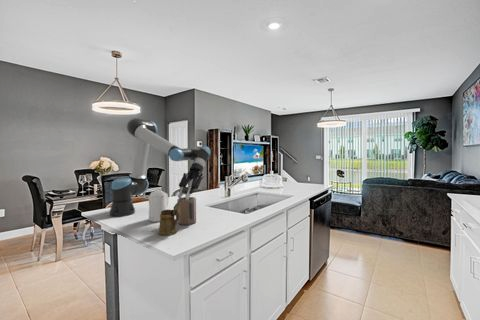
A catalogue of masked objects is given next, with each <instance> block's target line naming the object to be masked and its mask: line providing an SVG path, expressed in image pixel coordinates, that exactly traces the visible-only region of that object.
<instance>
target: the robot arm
mask: <svg viewBox="0 0 480 320" xmlns="http://www.w3.org/2000/svg"><path fill="white" fill-rule="evenodd" d="M126 130H127V132H128V133H129V135H130V136H132V137H134V139H136V146H135V150H134V151H135V152H134V159H133V163H132V172H131V173H130V174H129V176H128V177H121V178H116V179H114V180H113V181H112V182H111V188H110V189H111V206H110V209H109V217H115V218H116V217H117V218H118V217H124V216H125V217H127V216H130V215H133V214H135V212H136V209H135V207H134V204H133V201H132V199H133V197H132V196H136V195H141V194H143V193H145V192H147V191H148V188H149V185H150V183H149V181H148V177H147V175H146V169H147V163H148V157H149V151H150V146H152V147H154V148H155V149H158V150H159V151H160V152H162V153H164V154H165V155H166V156H169V159H170V160H171V161H173V162H182V161H184V162H185V161H193V162H192V164H191V166H190V168H189V171H188V172H187V173H186V172H183V174H182V178H181V179H180V181H179V183H178V187H179V190H178V193H177V198H178V199H181V198H183V194H184V193H183V187H188V186H187V185H188V184H189V182H191V185H190V186H189V187H190V188H189V190H188V192H187V194H186V196H185V195H184V197H186V198H187V199H189V197H191V195H192V194H193V193H194V190H198V189H199V186H200V184H201V182H202V181H203V178H204V177H205V176H204V174H203V170H204V168H205V166H206V164H207V161H208V160H209V157H210V155H211V149H210V148H209V147H208V146H206V145H202V146H200V148H188V147H187V148H180V147H179V146H177V145H175V144H174V143H173V142H171V141H169V140H167V139H165V138H164V137H162V136H160V135H159V134H158V130H159V129H158V126H157V125H156V123H155V122H154V121H151V120H148V119H142V118H137V117H136V118H131V119H130V120H129V121H128V122H127V123H126Z"/></svg>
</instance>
